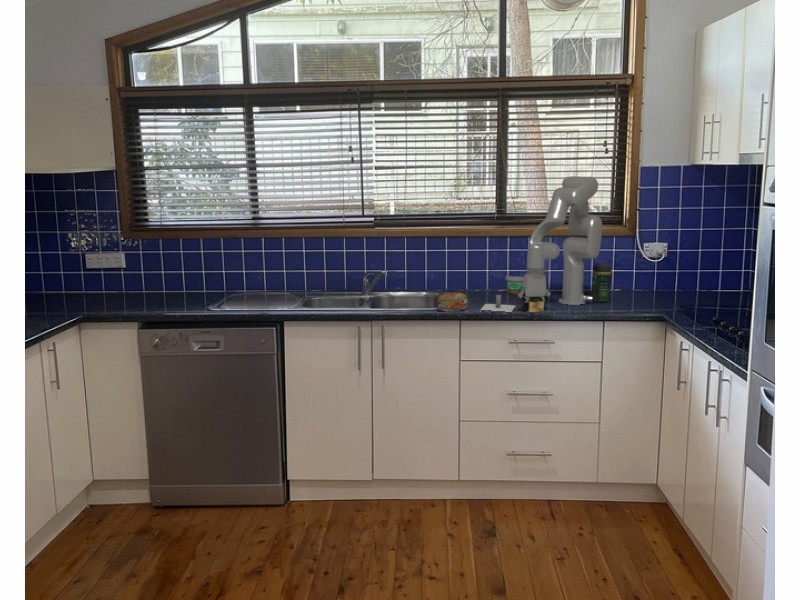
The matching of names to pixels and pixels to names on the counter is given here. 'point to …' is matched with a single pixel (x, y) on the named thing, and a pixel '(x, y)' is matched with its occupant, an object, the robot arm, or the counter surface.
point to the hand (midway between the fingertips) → (533, 310)
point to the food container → (514, 285)
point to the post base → (503, 308)
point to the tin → (452, 301)
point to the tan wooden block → (535, 305)
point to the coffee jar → (601, 282)
